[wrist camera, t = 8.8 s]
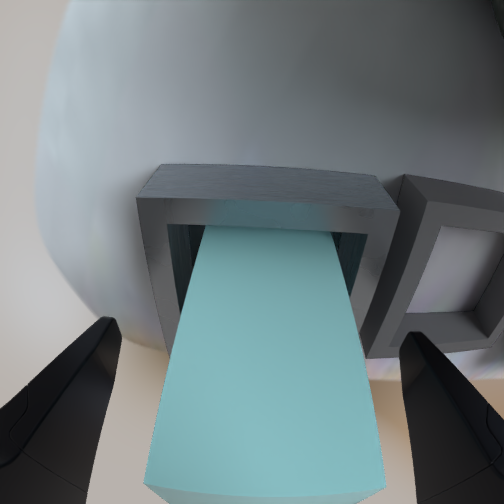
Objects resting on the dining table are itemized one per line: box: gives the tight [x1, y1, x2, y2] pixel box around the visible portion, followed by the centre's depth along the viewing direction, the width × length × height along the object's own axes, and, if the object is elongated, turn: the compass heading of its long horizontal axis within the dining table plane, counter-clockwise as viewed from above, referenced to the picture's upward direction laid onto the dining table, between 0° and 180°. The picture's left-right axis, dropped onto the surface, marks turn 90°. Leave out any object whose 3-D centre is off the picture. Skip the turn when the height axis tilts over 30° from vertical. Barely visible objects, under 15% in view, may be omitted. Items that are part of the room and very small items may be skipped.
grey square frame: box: [360, 174, 504, 359], centre depth 11 cm, size 8×8×2 cm
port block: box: [136, 164, 400, 358], centre depth 11 cm, size 7×7×2 cm
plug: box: [144, 225, 386, 504], centre depth 9 cm, size 4×4×9 cm
